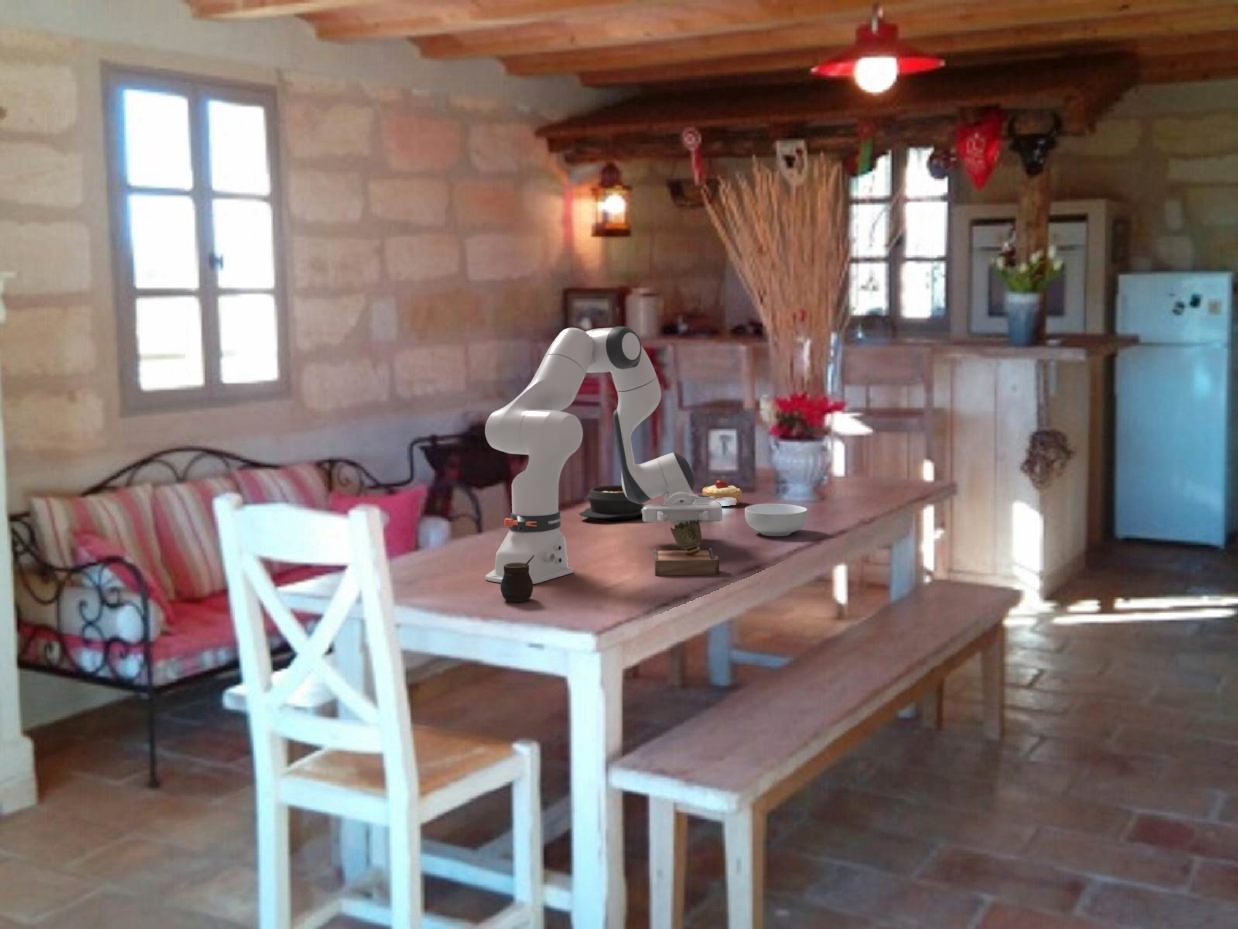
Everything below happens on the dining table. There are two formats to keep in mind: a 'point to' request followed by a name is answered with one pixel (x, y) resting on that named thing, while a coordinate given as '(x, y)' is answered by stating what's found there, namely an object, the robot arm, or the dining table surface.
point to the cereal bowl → (775, 518)
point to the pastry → (722, 491)
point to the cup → (688, 536)
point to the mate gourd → (517, 582)
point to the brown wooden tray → (686, 563)
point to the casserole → (611, 504)
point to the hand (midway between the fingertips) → (683, 517)
